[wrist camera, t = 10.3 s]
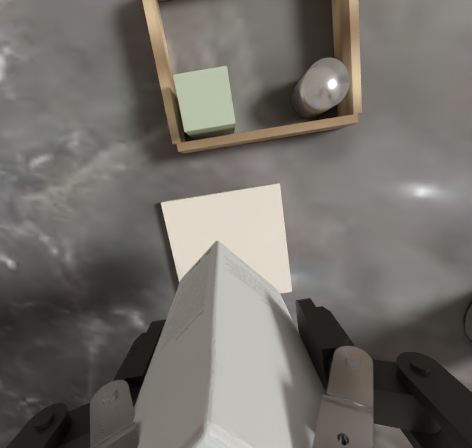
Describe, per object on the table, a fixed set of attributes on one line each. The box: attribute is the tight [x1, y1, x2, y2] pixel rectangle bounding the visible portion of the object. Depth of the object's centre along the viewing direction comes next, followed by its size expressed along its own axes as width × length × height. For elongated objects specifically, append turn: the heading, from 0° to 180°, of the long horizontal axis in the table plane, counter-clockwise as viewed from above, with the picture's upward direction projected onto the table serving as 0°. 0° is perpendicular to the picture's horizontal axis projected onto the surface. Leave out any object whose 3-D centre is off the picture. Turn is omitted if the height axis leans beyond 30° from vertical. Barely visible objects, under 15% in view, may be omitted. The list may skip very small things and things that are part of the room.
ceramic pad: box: [161, 183, 292, 293], centre depth 26 cm, size 12×12×1 cm
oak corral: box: [142, 0, 362, 154], centre depth 21 cm, size 13×16×3 cm
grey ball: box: [292, 57, 350, 118], centre depth 21 cm, size 4×4×4 cm
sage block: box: [173, 66, 235, 139], centre depth 20 cm, size 4×4×5 cm
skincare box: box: [133, 241, 327, 448], centre depth 11 cm, size 6×4×12 cm
